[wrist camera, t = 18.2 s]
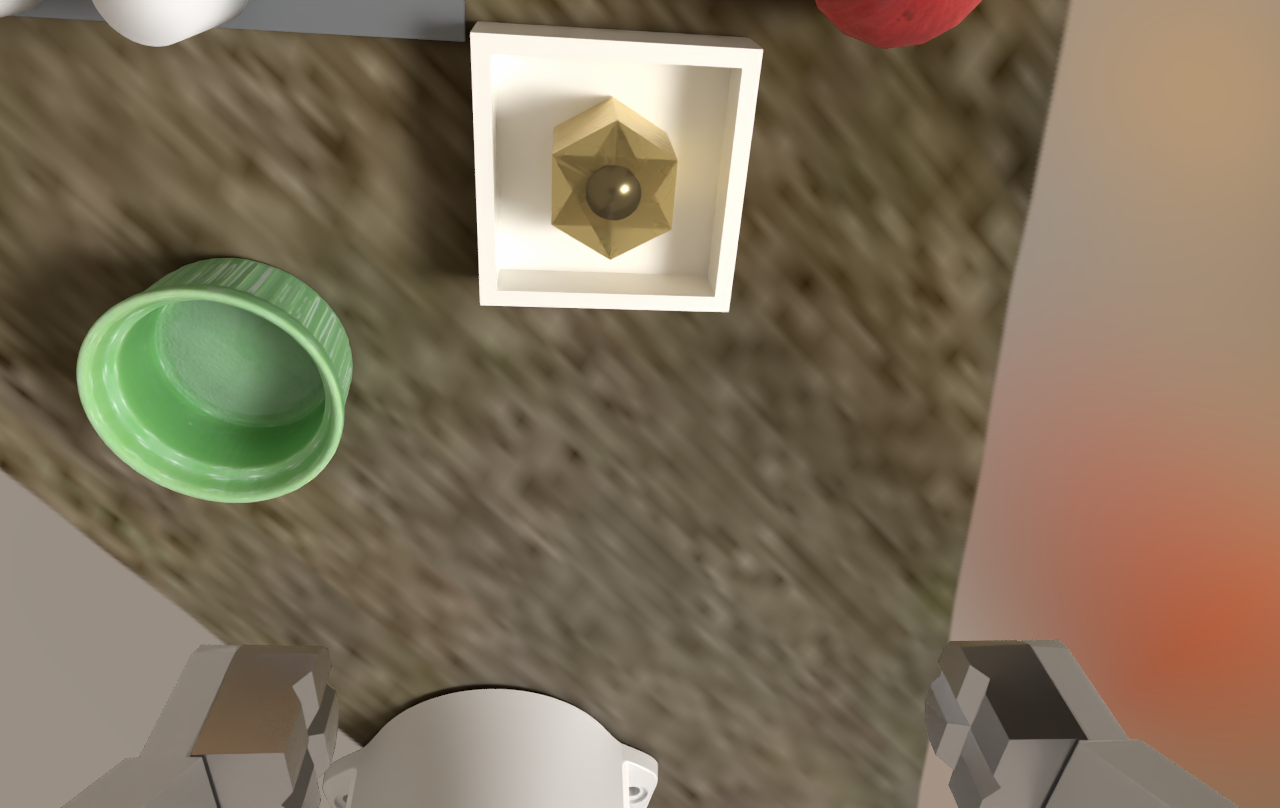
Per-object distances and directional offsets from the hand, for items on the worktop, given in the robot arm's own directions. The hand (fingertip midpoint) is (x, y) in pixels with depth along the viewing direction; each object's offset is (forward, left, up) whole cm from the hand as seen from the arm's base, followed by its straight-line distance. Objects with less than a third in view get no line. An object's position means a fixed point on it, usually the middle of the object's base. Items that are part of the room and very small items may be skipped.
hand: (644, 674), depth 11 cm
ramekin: (-8, +14, -24) cm, 28 cm away
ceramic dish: (0, 0, -23) cm, 23 cm away
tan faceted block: (+1, 0, -23) cm, 23 cm away
